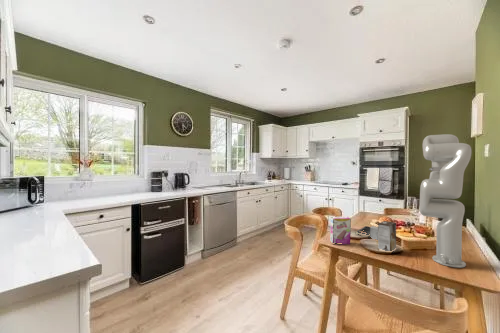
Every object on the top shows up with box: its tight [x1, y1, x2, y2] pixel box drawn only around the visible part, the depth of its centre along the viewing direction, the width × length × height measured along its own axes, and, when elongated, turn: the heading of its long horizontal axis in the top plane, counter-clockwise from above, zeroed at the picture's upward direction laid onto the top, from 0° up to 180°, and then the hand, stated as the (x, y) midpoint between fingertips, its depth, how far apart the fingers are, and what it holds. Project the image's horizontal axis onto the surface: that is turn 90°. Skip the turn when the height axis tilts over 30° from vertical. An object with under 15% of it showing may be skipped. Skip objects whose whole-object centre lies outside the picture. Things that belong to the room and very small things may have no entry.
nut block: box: [369, 225, 378, 241], centre depth 149 cm, size 4×4×8 cm
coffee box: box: [377, 220, 397, 251], centre depth 128 cm, size 9×6×16 cm
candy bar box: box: [329, 216, 352, 245], centre depth 140 cm, size 11×5×16 cm, turn 91°
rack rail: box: [357, 226, 371, 235], centre depth 161 cm, size 20×8×2 cm, turn 135°
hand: (438, 196), depth 145 cm, fingers open, 9 cm apart
